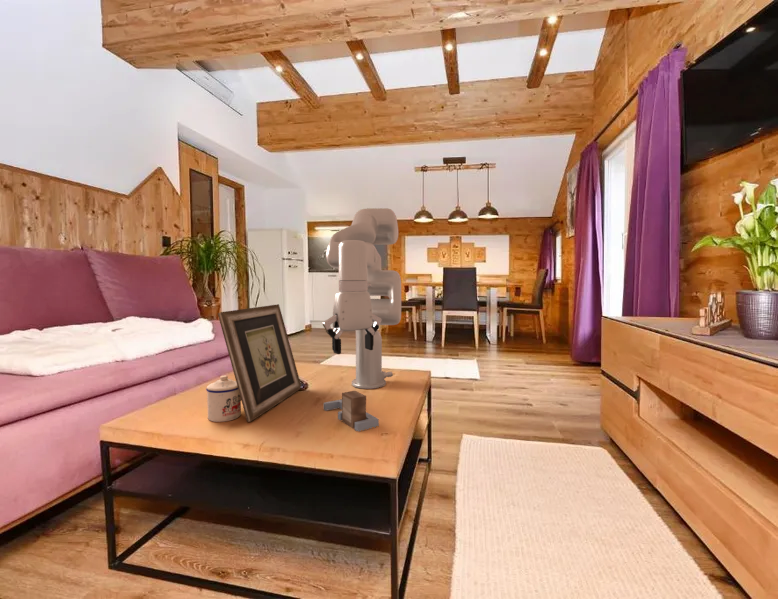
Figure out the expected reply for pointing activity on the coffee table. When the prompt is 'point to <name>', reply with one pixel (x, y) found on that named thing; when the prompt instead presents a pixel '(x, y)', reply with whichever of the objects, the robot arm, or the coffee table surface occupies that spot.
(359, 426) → the grey e-shaped bracket
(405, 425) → the coffee table surface
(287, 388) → the picture frame
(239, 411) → the teacup with lid
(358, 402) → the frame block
